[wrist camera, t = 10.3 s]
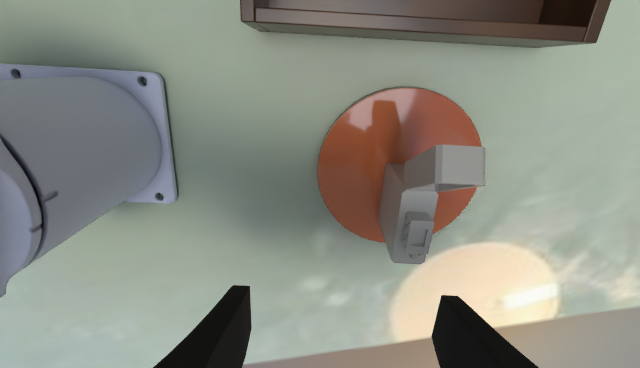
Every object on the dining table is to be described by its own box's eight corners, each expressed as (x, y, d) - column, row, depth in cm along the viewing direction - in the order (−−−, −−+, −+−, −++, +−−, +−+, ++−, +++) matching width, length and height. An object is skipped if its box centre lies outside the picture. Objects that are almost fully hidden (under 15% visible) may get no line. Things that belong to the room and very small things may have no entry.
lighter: (404, 224, 20) (451, 319, 13) (377, 223, 20) (409, 317, 13) (423, 114, 17) (496, 151, 10) (392, 113, 17) (444, 148, 10)
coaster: (314, 234, 21) (314, 239, 21) (322, 81, 17) (322, 82, 17) (458, 242, 21) (462, 247, 21) (496, 92, 18) (502, 92, 17)
